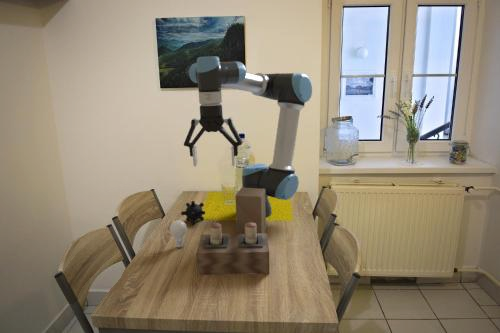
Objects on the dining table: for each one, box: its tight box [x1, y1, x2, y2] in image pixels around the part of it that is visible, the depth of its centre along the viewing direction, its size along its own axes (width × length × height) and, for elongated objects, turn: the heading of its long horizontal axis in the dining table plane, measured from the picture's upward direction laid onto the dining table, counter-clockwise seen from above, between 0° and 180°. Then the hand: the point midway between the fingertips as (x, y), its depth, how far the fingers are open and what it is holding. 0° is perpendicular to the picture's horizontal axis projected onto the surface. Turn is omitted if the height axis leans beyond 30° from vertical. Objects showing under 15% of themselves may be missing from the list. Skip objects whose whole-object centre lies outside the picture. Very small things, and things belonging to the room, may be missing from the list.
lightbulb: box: [169, 219, 188, 249], centre depth 142 cm, size 6×6×11 cm
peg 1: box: [209, 222, 223, 245], centre depth 128 cm, size 4×4×8 cm
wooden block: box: [235, 187, 267, 234], centre depth 146 cm, size 10×10×20 cm
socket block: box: [195, 232, 270, 276], centre depth 130 cm, size 24×14×9 cm, turn 90°
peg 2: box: [245, 222, 257, 244], centre depth 128 cm, size 4×4×8 cm
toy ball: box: [180, 200, 206, 226], centre depth 166 cm, size 11×11×12 cm
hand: (214, 165), depth 131 cm, fingers open, 13 cm apart
